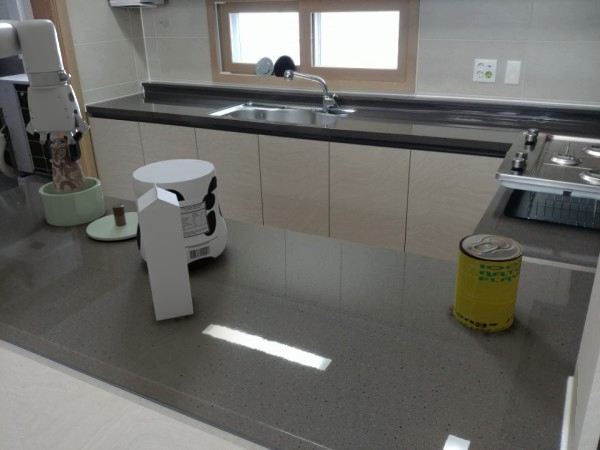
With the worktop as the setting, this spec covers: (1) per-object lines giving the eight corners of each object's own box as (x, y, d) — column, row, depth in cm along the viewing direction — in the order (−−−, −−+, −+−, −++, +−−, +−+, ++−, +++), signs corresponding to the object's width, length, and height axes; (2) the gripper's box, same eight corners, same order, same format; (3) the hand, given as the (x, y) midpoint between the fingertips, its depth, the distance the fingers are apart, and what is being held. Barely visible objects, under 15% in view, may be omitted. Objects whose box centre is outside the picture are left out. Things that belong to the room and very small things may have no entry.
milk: (189, 296, 93) (174, 174, 84) (193, 314, 87) (178, 186, 79) (153, 303, 91) (134, 179, 82) (155, 321, 86) (135, 191, 77)
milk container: (170, 234, 117) (159, 155, 110) (243, 243, 112) (236, 160, 105) (122, 271, 102) (105, 181, 95) (202, 283, 97) (191, 188, 90)
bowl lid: (74, 242, 115) (69, 218, 113) (105, 216, 129) (100, 194, 126) (140, 243, 113) (136, 218, 111) (164, 217, 127) (161, 194, 125)
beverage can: (525, 318, 83) (536, 248, 78) (487, 338, 79) (496, 265, 74) (478, 294, 90) (485, 229, 85) (440, 312, 86) (446, 243, 81)
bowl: (34, 225, 125) (26, 195, 122) (64, 204, 137) (58, 176, 134) (89, 226, 123) (83, 195, 120) (115, 205, 136) (109, 176, 133)
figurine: (47, 190, 125) (35, 140, 121) (68, 181, 132) (58, 133, 127) (71, 193, 123) (60, 142, 118) (92, 183, 129) (82, 134, 124)
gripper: (92, 76, 120) (106, 155, 127) (21, 78, 122) (39, 155, 129) (75, 81, 113) (91, 164, 120) (0, 83, 115) (20, 164, 122)
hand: (64, 159), depth 125 cm, fingers closed on figurine, 5 cm apart
